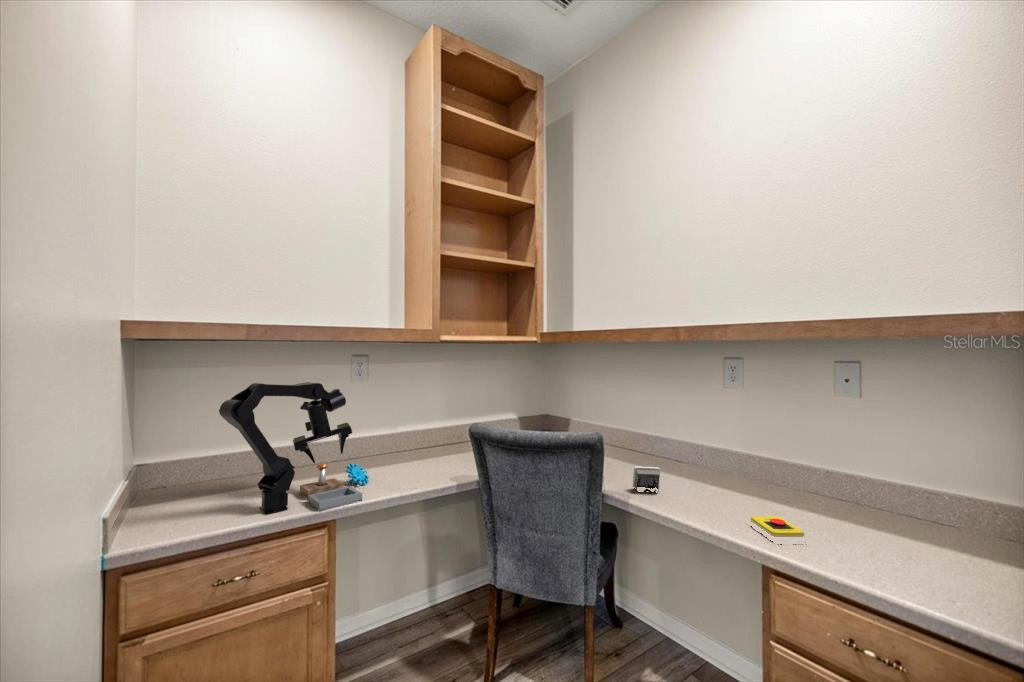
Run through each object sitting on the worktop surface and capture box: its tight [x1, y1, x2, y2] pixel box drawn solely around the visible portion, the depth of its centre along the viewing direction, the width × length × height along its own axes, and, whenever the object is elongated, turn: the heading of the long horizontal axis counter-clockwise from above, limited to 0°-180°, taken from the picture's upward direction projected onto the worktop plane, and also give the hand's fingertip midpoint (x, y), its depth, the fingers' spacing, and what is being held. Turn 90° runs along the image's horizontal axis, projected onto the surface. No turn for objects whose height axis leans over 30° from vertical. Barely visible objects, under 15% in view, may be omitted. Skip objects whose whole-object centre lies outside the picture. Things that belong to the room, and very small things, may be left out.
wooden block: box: [299, 477, 344, 500], centre depth 155 cm, size 12×8×3 cm, turn 134°
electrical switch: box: [632, 465, 661, 491], centre depth 159 cm, size 9×5×9 cm, turn 83°
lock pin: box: [316, 462, 328, 487], centre depth 155 cm, size 3×3×10 cm
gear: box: [345, 462, 370, 486], centre depth 165 cm, size 11×6×10 cm
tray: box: [307, 485, 363, 512], centre depth 146 cm, size 14×10×2 cm
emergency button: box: [750, 516, 805, 537], centre depth 125 cm, size 9×4×15 cm
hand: (328, 458), depth 156 cm, fingers open, 9 cm apart
